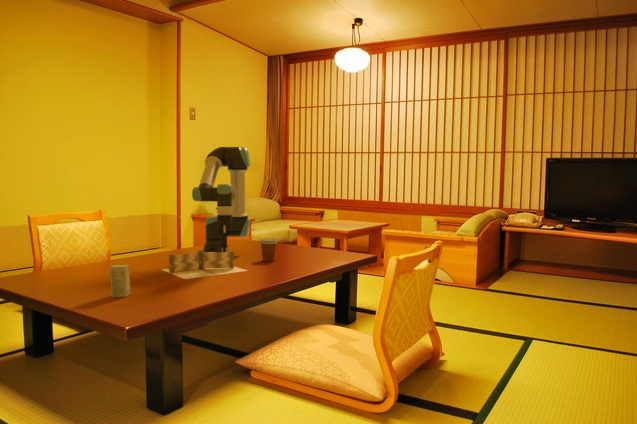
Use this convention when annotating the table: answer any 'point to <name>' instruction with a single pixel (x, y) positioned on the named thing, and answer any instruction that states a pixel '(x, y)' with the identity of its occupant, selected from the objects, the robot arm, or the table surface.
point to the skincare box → (120, 280)
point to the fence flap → (218, 259)
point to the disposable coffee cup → (268, 249)
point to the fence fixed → (186, 261)
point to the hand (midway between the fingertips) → (224, 259)
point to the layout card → (204, 272)
